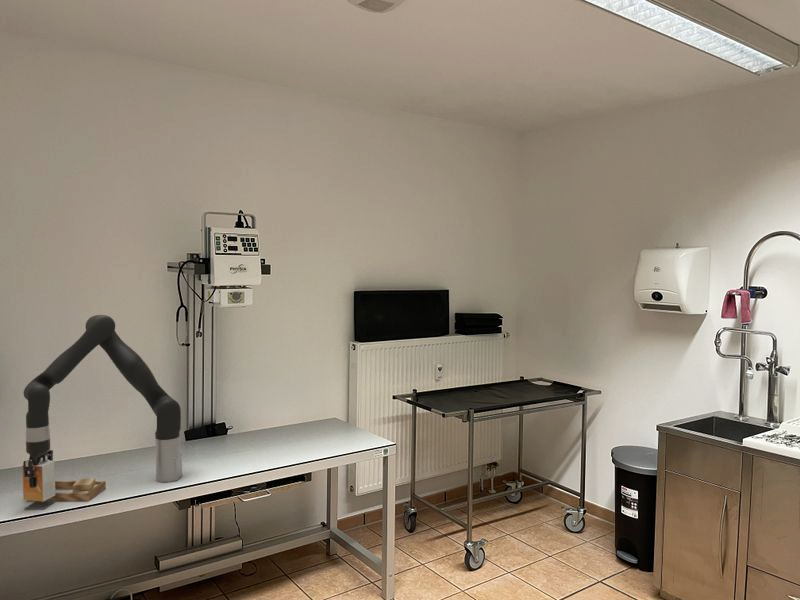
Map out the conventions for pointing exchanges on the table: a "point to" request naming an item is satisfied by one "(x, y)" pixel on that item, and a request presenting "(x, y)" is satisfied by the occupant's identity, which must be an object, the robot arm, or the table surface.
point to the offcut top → (84, 485)
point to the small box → (41, 483)
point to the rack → (75, 496)
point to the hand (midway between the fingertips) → (39, 483)
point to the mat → (39, 505)
